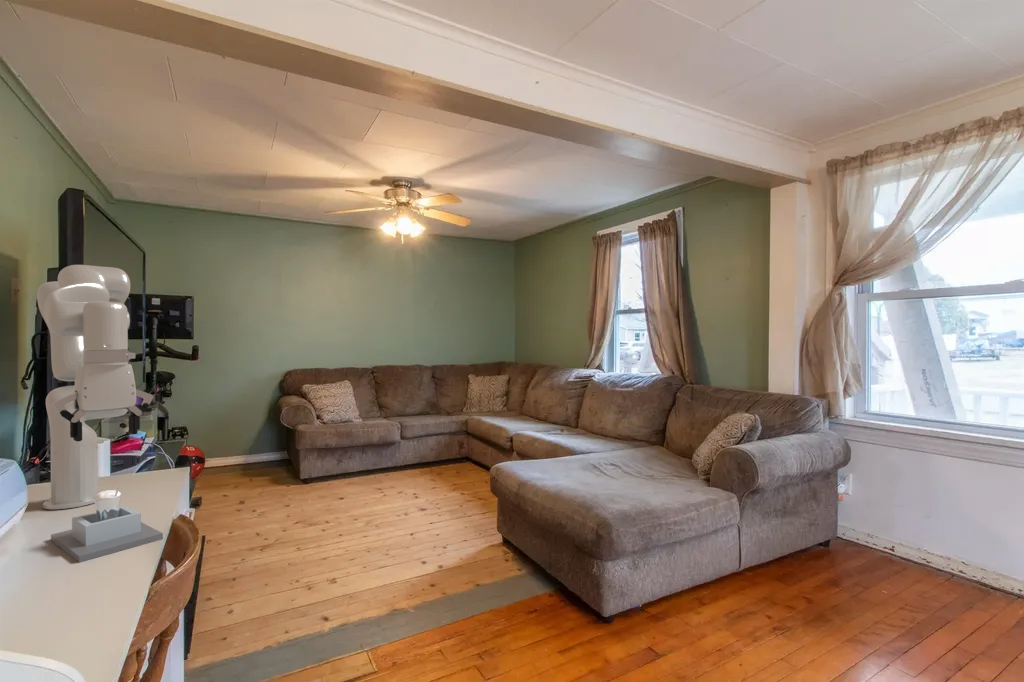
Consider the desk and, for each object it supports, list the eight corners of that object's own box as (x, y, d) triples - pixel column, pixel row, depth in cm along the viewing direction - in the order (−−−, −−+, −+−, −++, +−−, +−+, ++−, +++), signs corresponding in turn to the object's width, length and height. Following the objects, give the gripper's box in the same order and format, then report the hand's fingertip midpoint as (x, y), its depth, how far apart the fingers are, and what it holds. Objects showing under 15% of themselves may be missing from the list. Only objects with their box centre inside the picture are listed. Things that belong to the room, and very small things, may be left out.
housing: (51, 540, 107) (50, 516, 107) (129, 520, 119) (128, 499, 119) (79, 562, 96) (79, 535, 96) (162, 538, 107) (162, 514, 107)
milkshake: (107, 537, 105) (107, 490, 105) (89, 535, 106) (88, 489, 106) (129, 530, 109) (128, 484, 109) (111, 527, 111) (111, 483, 111)
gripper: (146, 357, 117) (146, 429, 117) (47, 359, 103) (48, 441, 102) (159, 357, 112) (159, 432, 112) (58, 359, 98) (58, 445, 98)
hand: (106, 436), depth 107 cm, fingers open, 9 cm apart
